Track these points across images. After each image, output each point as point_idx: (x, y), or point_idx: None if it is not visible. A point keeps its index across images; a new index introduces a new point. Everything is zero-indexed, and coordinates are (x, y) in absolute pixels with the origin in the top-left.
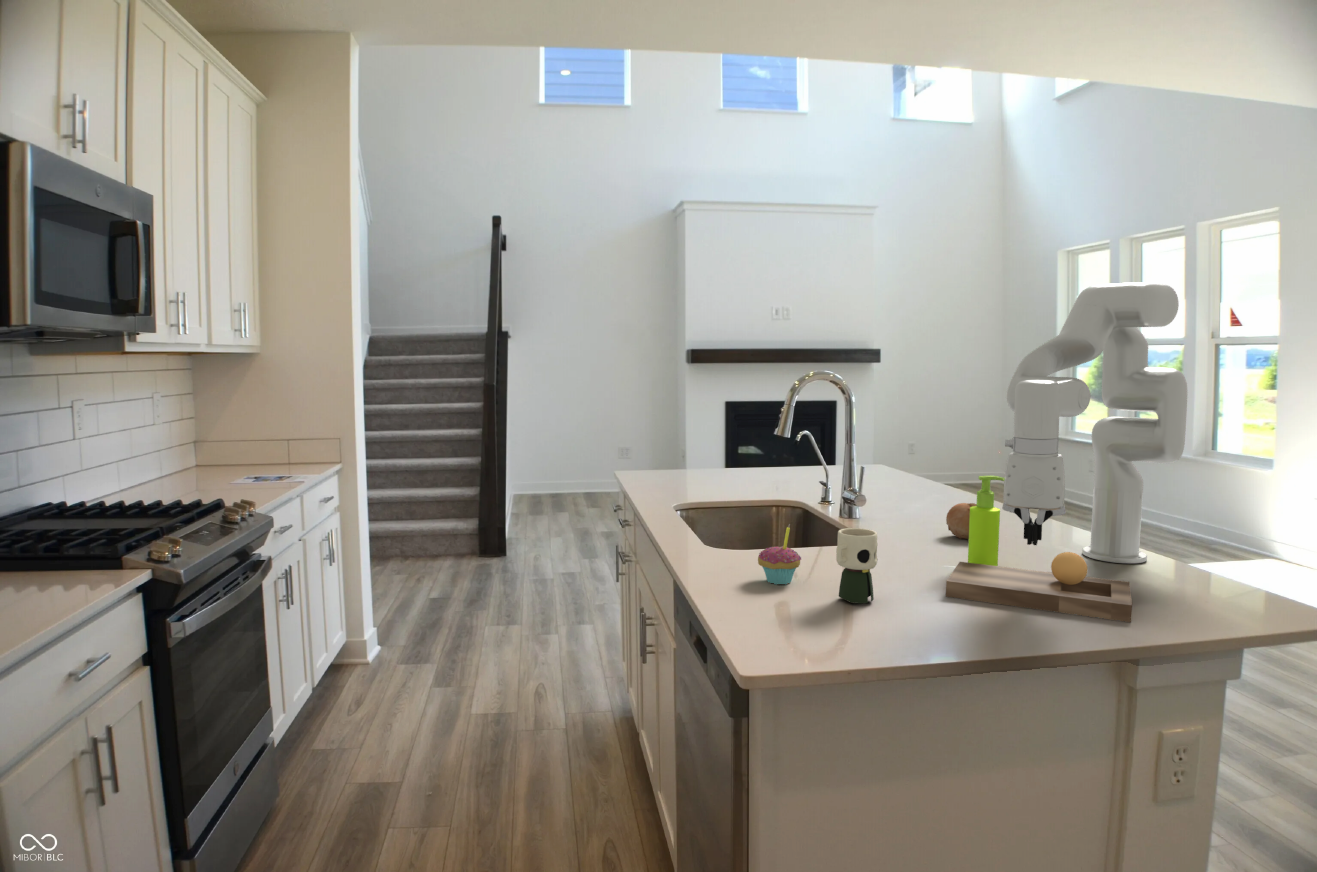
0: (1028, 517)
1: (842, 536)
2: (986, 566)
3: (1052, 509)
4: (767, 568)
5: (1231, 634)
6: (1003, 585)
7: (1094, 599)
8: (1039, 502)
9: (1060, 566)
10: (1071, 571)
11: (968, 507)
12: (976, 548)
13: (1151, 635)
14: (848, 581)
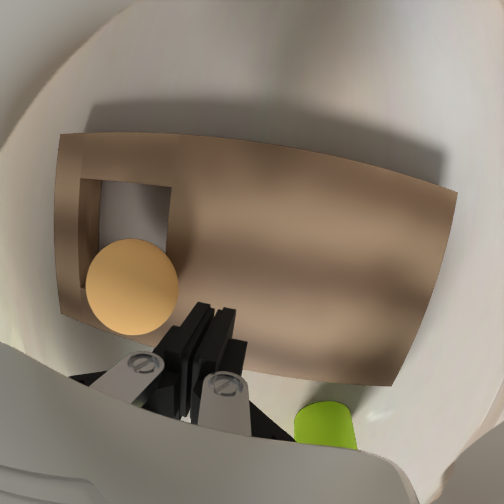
0: (203, 393)
1: None
2: (339, 369)
3: (18, 350)
4: None
5: (4, 154)
6: (322, 186)
7: (110, 139)
8: (52, 418)
9: (146, 254)
10: (124, 241)
11: None
12: (346, 439)
13: (74, 82)
14: None
